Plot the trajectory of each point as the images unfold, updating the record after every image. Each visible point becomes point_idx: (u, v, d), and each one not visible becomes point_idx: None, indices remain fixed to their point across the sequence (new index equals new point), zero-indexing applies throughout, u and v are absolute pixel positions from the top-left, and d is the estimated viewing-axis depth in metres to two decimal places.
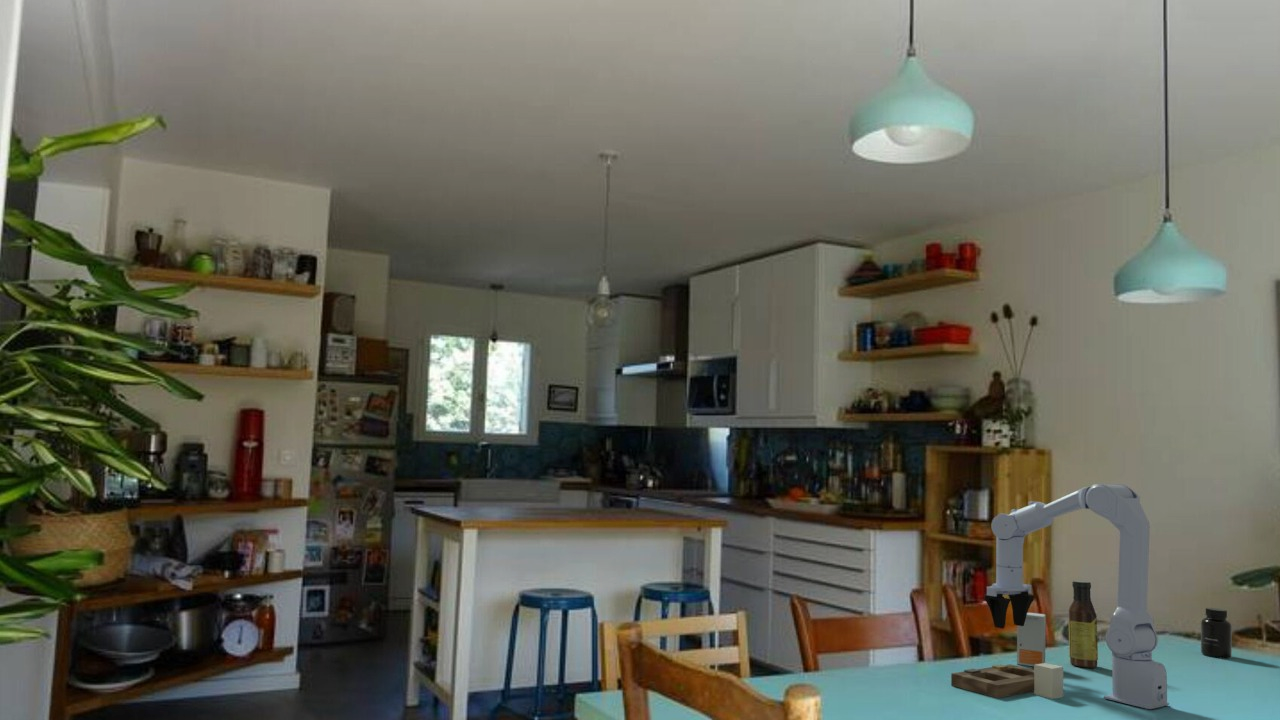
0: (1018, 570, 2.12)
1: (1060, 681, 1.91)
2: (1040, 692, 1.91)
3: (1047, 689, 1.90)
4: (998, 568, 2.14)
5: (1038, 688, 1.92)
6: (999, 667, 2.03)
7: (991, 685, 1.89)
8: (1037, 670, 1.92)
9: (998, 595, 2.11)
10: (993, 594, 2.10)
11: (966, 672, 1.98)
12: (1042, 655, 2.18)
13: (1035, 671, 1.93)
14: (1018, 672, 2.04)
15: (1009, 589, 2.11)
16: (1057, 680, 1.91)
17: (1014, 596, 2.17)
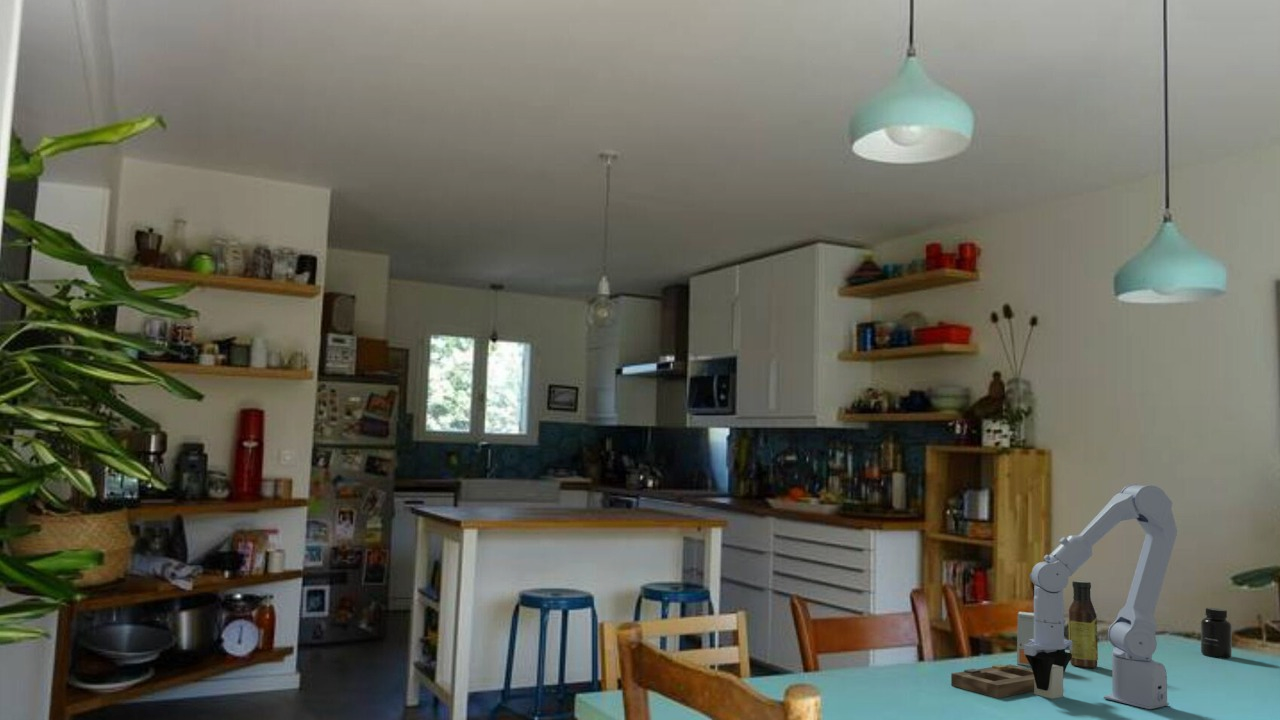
0: (1059, 626, 1.91)
1: (1060, 681, 1.91)
2: (1040, 692, 1.91)
3: None
4: (1036, 623, 1.93)
5: None
6: (999, 667, 2.03)
7: (991, 685, 1.89)
8: None
9: (1041, 653, 1.90)
10: (1031, 653, 1.88)
11: (966, 672, 1.98)
12: None
13: None
14: (1018, 672, 2.04)
15: (1049, 647, 1.89)
16: (1057, 680, 1.91)
17: (1049, 654, 1.95)
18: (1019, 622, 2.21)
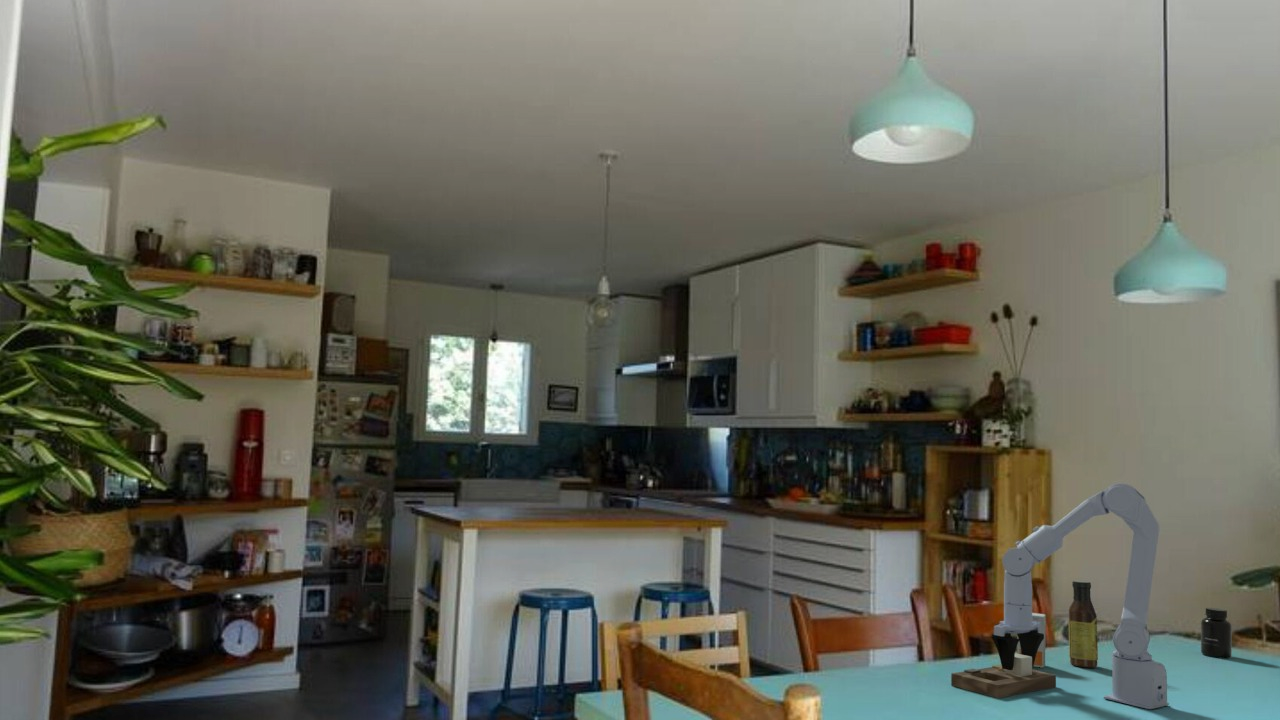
0: (1027, 608, 2.00)
1: (1029, 670, 2.00)
2: None
3: None
4: (1006, 605, 2.02)
5: None
6: (999, 667, 2.03)
7: (991, 685, 1.89)
8: None
9: (1006, 635, 1.98)
10: (1001, 634, 1.97)
11: (966, 672, 1.98)
12: (1042, 655, 2.18)
13: None
14: None
15: (1018, 628, 1.99)
16: (1026, 669, 2.00)
17: (1023, 634, 2.05)
18: None
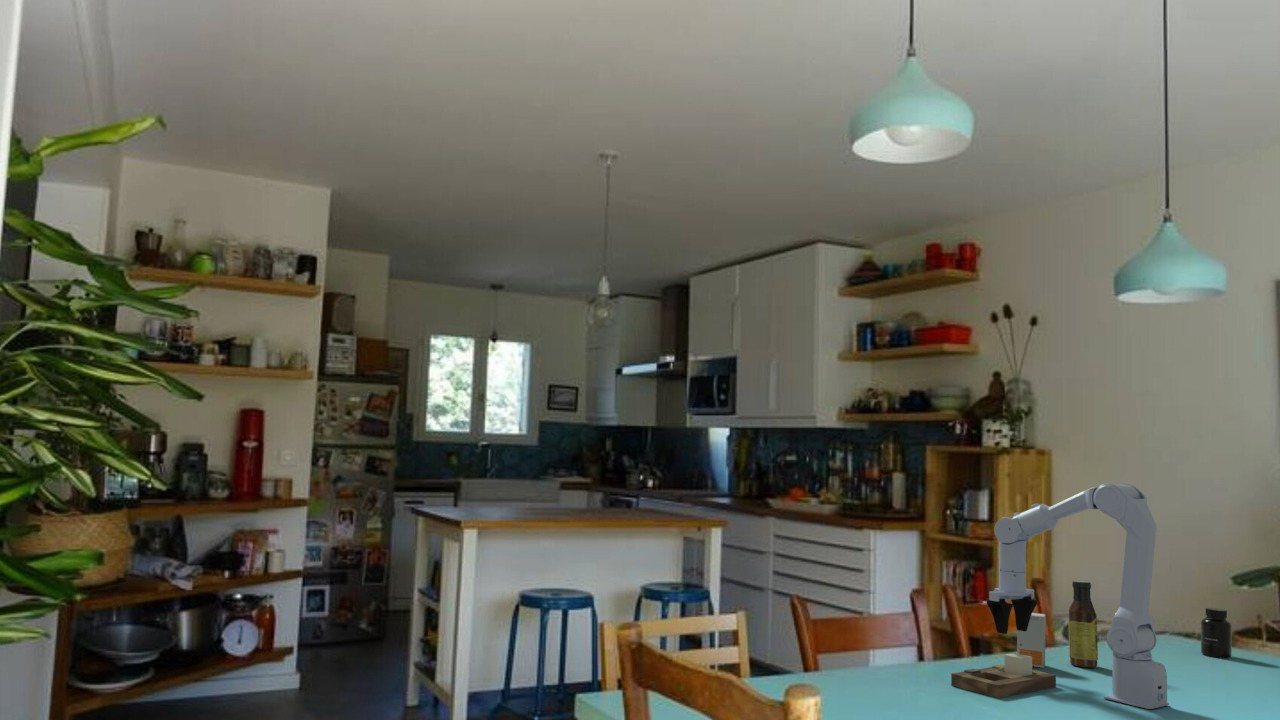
0: (1021, 575, 2.10)
1: (1029, 670, 2.00)
2: None
3: None
4: (1001, 573, 2.12)
5: None
6: (999, 667, 2.03)
7: (991, 685, 1.89)
8: (1007, 660, 2.01)
9: (1001, 600, 2.08)
10: (995, 599, 2.07)
11: (966, 672, 1.98)
12: (1042, 655, 2.18)
13: (1006, 661, 2.02)
14: None
15: (1012, 594, 2.08)
16: (1026, 669, 2.00)
17: (1017, 601, 2.15)
18: None
